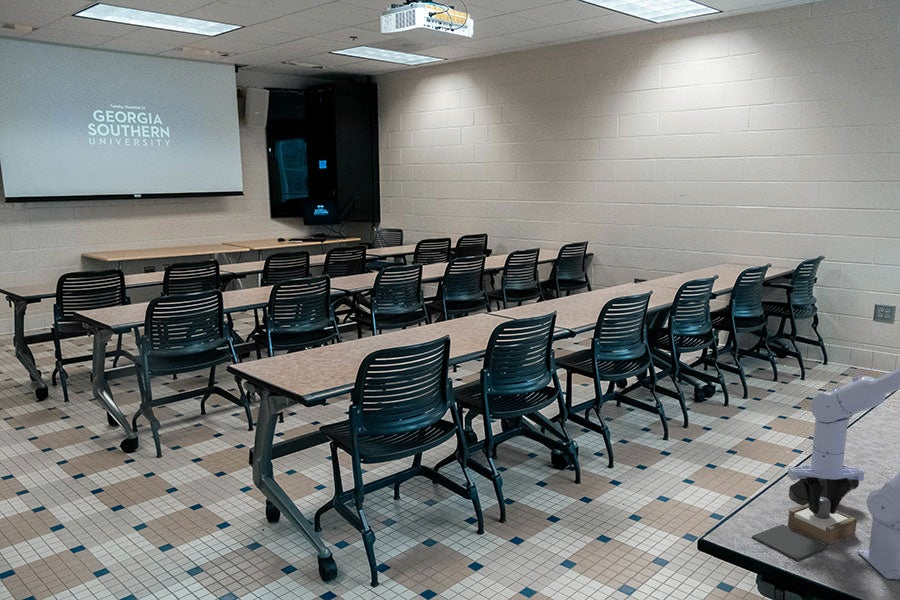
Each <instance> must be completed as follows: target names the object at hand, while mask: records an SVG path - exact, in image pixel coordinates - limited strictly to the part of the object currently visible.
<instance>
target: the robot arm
mask: <svg viewBox="0 0 900 600" xmlns="http://www.w3.org/2000/svg"><path fill="white" fill-rule="evenodd" d="M851 380H852V381H851V382H849V383H846V384H844V385H842V386H840V385H836V386H833V387H832V391H829V392H821V393H818V394H817V395H815V396H814V397H813V398H812V399H811V402H810V411H811V413H812V415H813V417H814V418H815V421H814V429H813V431H814V432H813V442H812V448H811V451H812V452H811V461H810V464H807V465H801V466H795V467H794V466H793V467H792V466H791V467H788V473H787V477H788V478H790V479H791V480H792V481H797V480H800V479H801V481H802V483H803V486H804V488H805V491H806V494H807V499H808V504H809V510H810V511H811V512H812V513H814V514H817V513H818V509H819V500H820V496H821V493H822V490H823V488H824V487H823V486H822V485H821V484H820V481H818V479H826V480H827V498H828V499H830V500H831V510H830V513H831V514H835V512H836V510H837V509H838V507H839V505H840V503H841V501H842V499H843V498H844V497H845V496H846V495H847V494H846V493H847V492H848V491H849V490H850V488H851V484H850V483H849V482H848V479H857V480H858V481H859V482H860V481H861V482H863V481H864V478H865V471H863V470H862V469H861V468H858V467H848V466H846V467H843V465H844V461H845V450H846V441H847V431H848V426H849V422H850V419H851V418H852V417H854V415H856V414H859V413H861V412H863V411H867V410H869V409H871V408H874V407H877V406H880V405H881V404H883V403H884V402H885V401H886V396H887V394H890V393H893V392H895V391H898V390H900V367H898V368H897V369H895V370H893V371H891V372H888V373H886V374H884V375H882V376H880V377H878V378H874V377H872V376H870V375H869V376H868V375H864V376H863V375H857V376H854V377H852V378H851ZM845 494H846V495H845ZM844 495H845V496H844ZM843 496H844V497H843ZM866 506H867V509H868V511H869V513H870V515H871V516H872V520H871V521H872V522H871V527H870V528H871V529H870V530H871V531H870V536H869V537H870V538H869V546H868V549H858V550H857V553H858V554H859V555H860V556H861V557H862V558H864V560H866V561H867V563H869V564H871V566H872V567H874V568H875V570H877V571H878V572H879V573H880V574H881V575H882V576H883V577H884V578H885V579H887V580H900V472H899V473H897V474H896V475H895V476H893V477H892V478H890V479H889V480H888V481H886V482H885V483H884V485H883V486H881V488H879V489H875V490H872V491H871V492H869V494H868V496H867V498H866Z"/></svg>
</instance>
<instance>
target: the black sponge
mask: <svg viewBox="0 0 900 600" xmlns="http://www.w3.org/2000/svg"><path fill="white" fill-rule="evenodd" d="M843 467H847V466H845V465H844V464H843ZM818 481H820V484H821V485H822V486H823V487H824V488H823V490H822V493H821V496H820V497H825V498H827V480H826V479H818ZM848 482H849V483H850V484H851V488H850V490H849V491H848V492H847V493H846V494H845V495H844V496H843V498H844V497H845V496H846V495H847V494H849V493H850V492H851V491H853V490H856V489H857V488H858V487H859V485H860V481H858V480H857V479H848ZM788 496H789V497H788V498H789V499H790V500H791V501H792V502H794V503H795V504H797V505H799V506H803V505H805V504H808V499H807V494H806V491H805V488H804V486H803V483H802V481H801V479H798V481H796V482H795V483H793V484H791V485H790V486H789V490H788Z"/></svg>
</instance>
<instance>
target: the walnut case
mask: <svg viewBox="0 0 900 600" xmlns="http://www.w3.org/2000/svg"><path fill="white" fill-rule="evenodd" d="M807 508H809V504H805V505H803V506H802V505H799V506H797V507H795V508H792V509H789V510H788V520H787V526H788V527H790V528H792V529H794V530H796V531H798V532H801V533H803V534H805V535H807V536H809V537H811V538H813V539H815V540H818V541H820V542H822V543H824V544H826V545H828V546H831V545H833V544H836V543H837V542H840V541H842V540H843V541H844V540H845V539H847V538H850V537H852V536H855V535H856V529H857V522H858V518H857V517H855V516H851V515H849V514H846V513H845V512H842V511H839V510H837V509H836V512H835V513H838V514H840V515H842V516H845V517H847V518H849V519H846V520H844V521H841V522H839V523H836V524H834V525H831V526H829V527H827V531H825V530H822V529H820V528H818V527H816V526H813V525H811V524H809V523H807V522H805V521H802V520H800V519H798V518H796V517H794V514H795V513H796V512H799V511H802V510H805V509H807Z"/></svg>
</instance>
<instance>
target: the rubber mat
mask: <svg viewBox="0 0 900 600" xmlns="http://www.w3.org/2000/svg"><path fill="white" fill-rule="evenodd" d="M751 539H754V541H755V540H756V541H757V542H759V543H761V544H764V545H765V546H768V547H769V548H771V549H772V550H775V551H778V552H779V553H781V554H783V555H786V556H787V557H789V558H791V559H793V560H795V561H797V562H799V561H801V560H803V559H805V558H808V557H810V556H813V555H815V554H817V553H819V552H822V551H824V550H826V549H829V547H830V545H828V544H825V543H823V542H821V541H819V540H817V539H815V538H813V537H811V536H808V535H806V534H804V533H802V532H800V531H798V530H796V529H793V528H791V527H789V526H788V525H786V524H783V523H782V524H779V525H777V526H774V527H772V528H769V529H767V530H763V531H761V532H759V533H758V532H757V533H756V534H753V535H751Z"/></svg>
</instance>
